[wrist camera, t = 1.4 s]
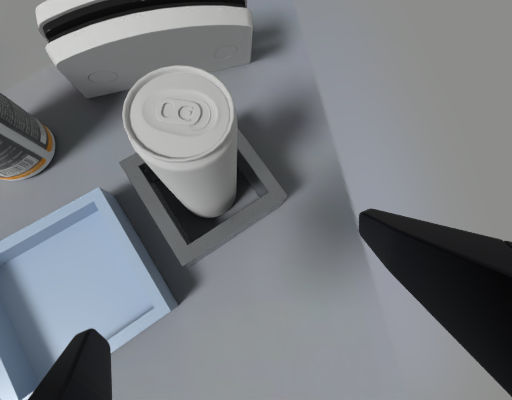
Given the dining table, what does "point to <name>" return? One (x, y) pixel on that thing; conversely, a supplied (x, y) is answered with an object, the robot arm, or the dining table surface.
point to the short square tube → (227, 230)
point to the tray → (73, 288)
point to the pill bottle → (22, 142)
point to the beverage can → (186, 135)
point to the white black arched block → (142, 38)
